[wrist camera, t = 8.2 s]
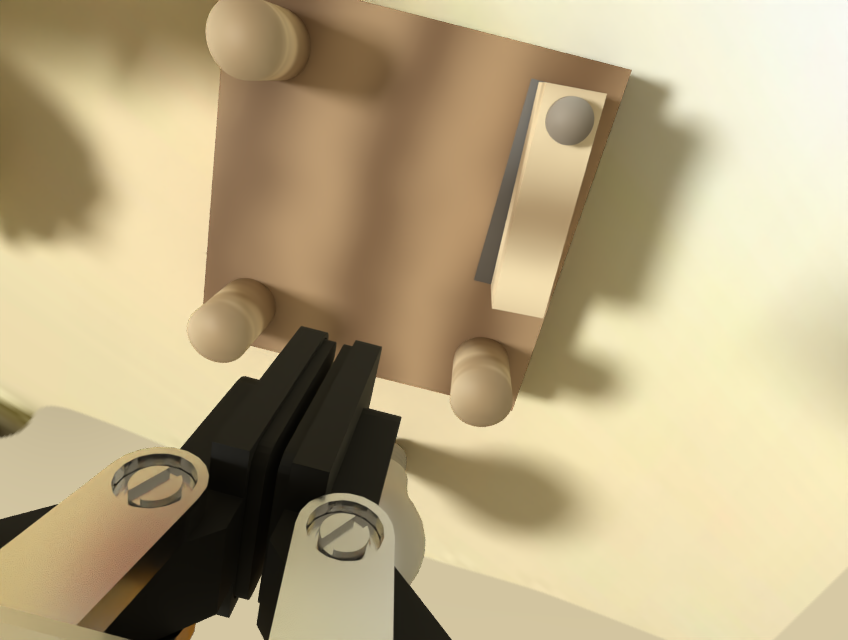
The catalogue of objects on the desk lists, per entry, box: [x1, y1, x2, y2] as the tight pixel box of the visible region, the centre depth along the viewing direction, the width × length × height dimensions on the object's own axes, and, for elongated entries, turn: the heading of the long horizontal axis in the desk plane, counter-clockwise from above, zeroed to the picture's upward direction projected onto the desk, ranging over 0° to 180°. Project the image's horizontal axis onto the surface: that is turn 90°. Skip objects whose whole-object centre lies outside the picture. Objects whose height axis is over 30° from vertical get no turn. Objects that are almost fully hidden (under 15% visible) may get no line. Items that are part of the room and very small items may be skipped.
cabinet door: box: [491, 82, 607, 318], centre depth 25 cm, size 10×2×4 cm, turn 170°
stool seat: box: [187, 0, 632, 427], centre depth 27 cm, size 18×18×6 cm
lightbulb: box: [379, 443, 425, 585], centre depth 31 cm, size 6×6×11 cm
